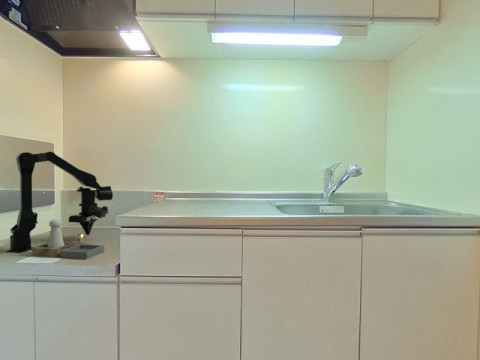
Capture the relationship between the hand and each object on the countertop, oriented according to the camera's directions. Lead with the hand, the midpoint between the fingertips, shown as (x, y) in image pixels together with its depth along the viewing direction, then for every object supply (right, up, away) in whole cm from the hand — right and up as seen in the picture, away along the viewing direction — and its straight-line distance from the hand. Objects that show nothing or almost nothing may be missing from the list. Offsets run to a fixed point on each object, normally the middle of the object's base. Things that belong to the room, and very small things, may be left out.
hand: (87, 234), depth 141 cm
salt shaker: (-3, -4, -20) cm, 20 cm away
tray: (+9, -4, -21) cm, 24 cm away
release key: (-1, -3, -8) cm, 9 cm away
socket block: (-3, -4, -20) cm, 20 cm away
